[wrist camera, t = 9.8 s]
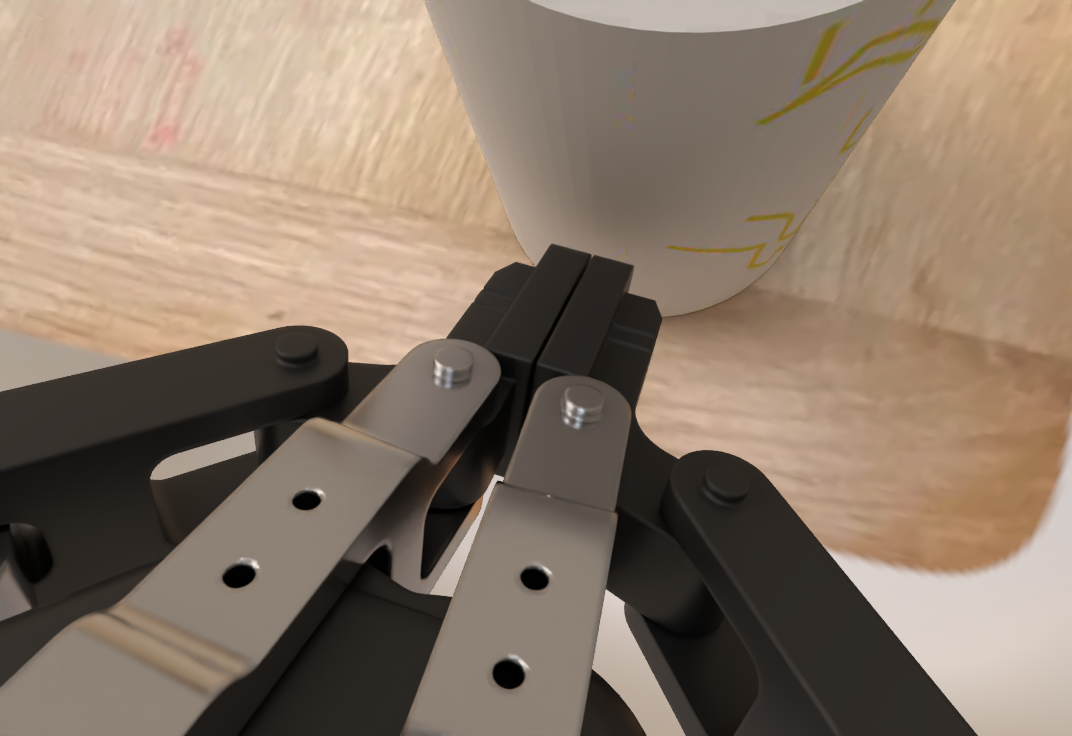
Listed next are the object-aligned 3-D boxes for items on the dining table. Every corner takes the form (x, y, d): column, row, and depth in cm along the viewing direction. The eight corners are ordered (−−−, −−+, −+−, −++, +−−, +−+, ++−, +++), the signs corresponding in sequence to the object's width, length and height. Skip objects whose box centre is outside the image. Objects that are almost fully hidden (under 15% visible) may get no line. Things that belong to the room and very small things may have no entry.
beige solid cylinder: (736, 367, 19) (941, 148, 7) (452, 246, 20) (219, -110, 8) (856, 90, 20) (1220, -521, 8) (577, -8, 21) (528, -654, 9)
